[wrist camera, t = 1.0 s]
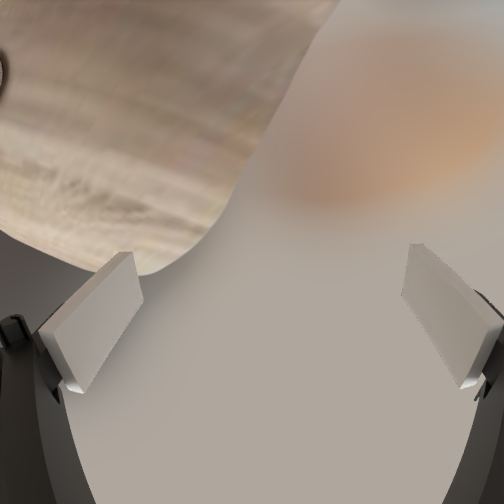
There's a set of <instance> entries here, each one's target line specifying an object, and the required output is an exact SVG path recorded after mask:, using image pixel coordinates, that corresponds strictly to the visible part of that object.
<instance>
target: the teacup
mask: <svg viewBox="0 0 504 504" xmlns="http://www.w3.org/2000/svg"><path fill="white" fill-rule="evenodd" d="M1 82H2V65H1V61H0V86H1Z"/></svg>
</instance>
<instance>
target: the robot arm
mask: <svg viewBox="0 0 504 504" xmlns="http://www.w3.org/2000/svg"><path fill="white" fill-rule="evenodd" d="M401 296H402V297H403V299H404V300H405V302H406V303H407V305H408V306H409V307H410V309H411V310H412V312H413V313H414V315H415V316H416V318H417V319H418V321H419V322H420V324H421V326H422V327H423V329H424V330H425V332H426V333H427V335H428V337H429V338H430V340H431V341H432V343H433V344H434V346H435V348H436V349H437V351H438V353H439V354H440V356H441V357H442V359H443V361H444V363H445V364H446V366H447V367H448V369H449V371H450V373H451V375H452V376H453V378H454V380H455V382H456V383H457V385H458V387H459V389H462V388H466V387H469V386H472V385H475V384H476V382H477V380H478V378H479V377H480V375H481V373H483V374H484V376H485V377H486V379H485V381H484V383H483V385H482V387H481V389H480V390H479V392H478V394H477V395H476V397H475V399H474V401H476V400H477V398H478V397H480V398H479V402H478V406H477V410H476V414H475V418H474V421H473V425H472V428H471V432H470V435H469V438H468V441H467V444H466V447H465V450H464V453H463V456H462V459H461V461H460V464H459V466H458V469H457V472H456V474H455V476H454V479H453V481H452V484H451V486H450V488H449V490H448V493H447V495H446V497H445V499H444V501H443V503H442V504H504V316H503V315H502V314H501V313H500V312H499V311H498V310H497V309H496V308H495V307H494V306H493V305H492V304H491V303H489V301H488V300H487V299H486V298H485V297H484V296H483V295H482V294H481V293H479V292H477V291H476V290H474V289H472V288H471V287H470V286H469V285H468V284H467V283H466V282H465V281H464V280H463V279H462V278H461V277H460V276H459V275H458V274H456V273H455V272H454V271H453V270H452V269H451V268H450V267H449V266H448V265H447V264H446V263H444V262H443V261H442V260H441V259H440V258H439V257H438V256H437V255H435V254H434V253H433V252H432V251H431V250H430V249H428V248H427V247H426V246H425V245H424V244H410V246H409V253H408V260H407V266H406V272H405V278H404V283H403V289H402V293H401ZM143 301H144V300H143V296H142V292H141V288H140V284H139V280H138V275H137V271H136V266H135V261H134V257H133V252H119V253H117V254H116V255H115V256H114V257H113V258H112V259H111V260H110V261H108V262H107V263H106V264H105V265H104V266H103V267H102V268H101V269H100V270H99V271H98V272H96V273H95V274H94V275H93V276H92V277H91V278H90V279H89V280H88V281H87V282H86V283H85V284H84V285H83V286H82V287H81V288H80V289H79V290H77V291H76V292H75V293H74V294H73V295H72V296H71V297H70V298H69V299H68V300H67V301H66V302H65V303H63V304H61V305H60V306H59V307H58V308H57V309H56V311H54V313H52V314H51V315H50V317H49V319H46V321H45V322H44V323H43V324H42V325H41V326H40V327H39V328H38V329H37V330H36V331H35V332H34V333H33V334H32V335H31V333H30V330H29V328H28V326H27V324H26V322H25V319H24V317H23V316H22V315H19V314H15V315H11V316H9V317H6V318H4V319H3V320H2V321H0V341H1V343H2V345H3V347H4V348H0V504H96V503H95V500H94V498H93V495H92V493H91V491H90V488H89V485H88V483H87V480H86V477H85V475H84V472H83V469H82V466H81V463H80V460H79V457H78V454H77V450H76V447H75V444H74V440H73V437H72V433H71V430H70V425H69V422H68V418H67V413H66V409H65V404H64V399H63V395H62V391H61V389H60V387H59V385H58V384H59V383H60V381H61V380H62V379H63V381H64V382H65V384H66V386H67V388H68V389H69V390H71V391H74V392H78V393H82V394H85V392H86V390H87V389H88V387H89V385H90V384H91V382H92V380H93V379H94V377H95V375H96V374H97V372H98V370H99V369H100V367H101V366H102V364H103V363H104V361H105V359H106V358H107V356H108V355H109V353H110V351H111V350H112V348H113V347H114V345H115V343H116V342H117V340H118V339H119V337H120V336H121V334H122V333H123V331H124V330H125V328H126V327H127V325H128V324H129V322H130V321H131V319H132V318H133V316H134V315H135V313H136V312H137V310H138V309H139V307H140V306H141V304H142V303H143Z"/></svg>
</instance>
